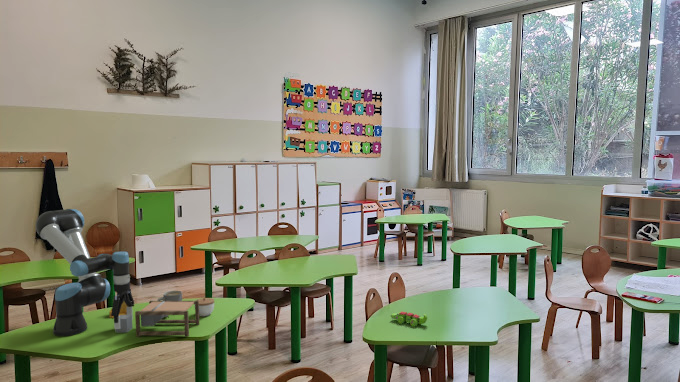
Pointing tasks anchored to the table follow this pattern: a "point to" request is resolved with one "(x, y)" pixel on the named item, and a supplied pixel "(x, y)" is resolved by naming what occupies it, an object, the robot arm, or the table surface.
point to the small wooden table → (162, 306)
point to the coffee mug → (171, 296)
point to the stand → (185, 321)
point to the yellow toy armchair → (122, 311)
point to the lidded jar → (205, 306)
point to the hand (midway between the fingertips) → (123, 323)
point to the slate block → (125, 323)
